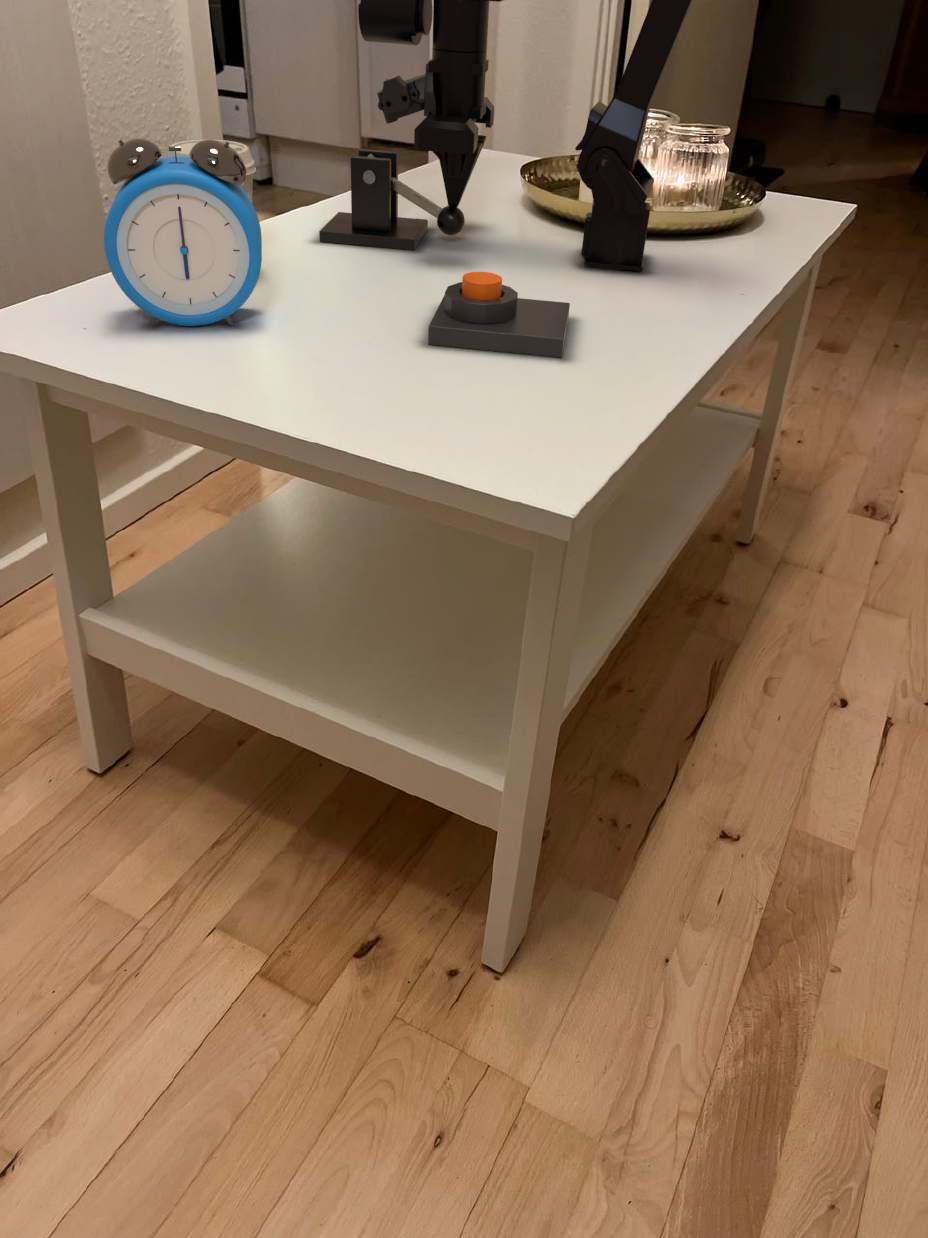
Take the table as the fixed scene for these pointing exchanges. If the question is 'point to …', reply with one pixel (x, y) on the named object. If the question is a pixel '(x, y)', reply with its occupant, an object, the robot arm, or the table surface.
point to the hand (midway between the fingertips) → (453, 205)
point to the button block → (500, 323)
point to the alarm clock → (182, 231)
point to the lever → (431, 208)
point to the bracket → (374, 207)
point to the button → (481, 285)
